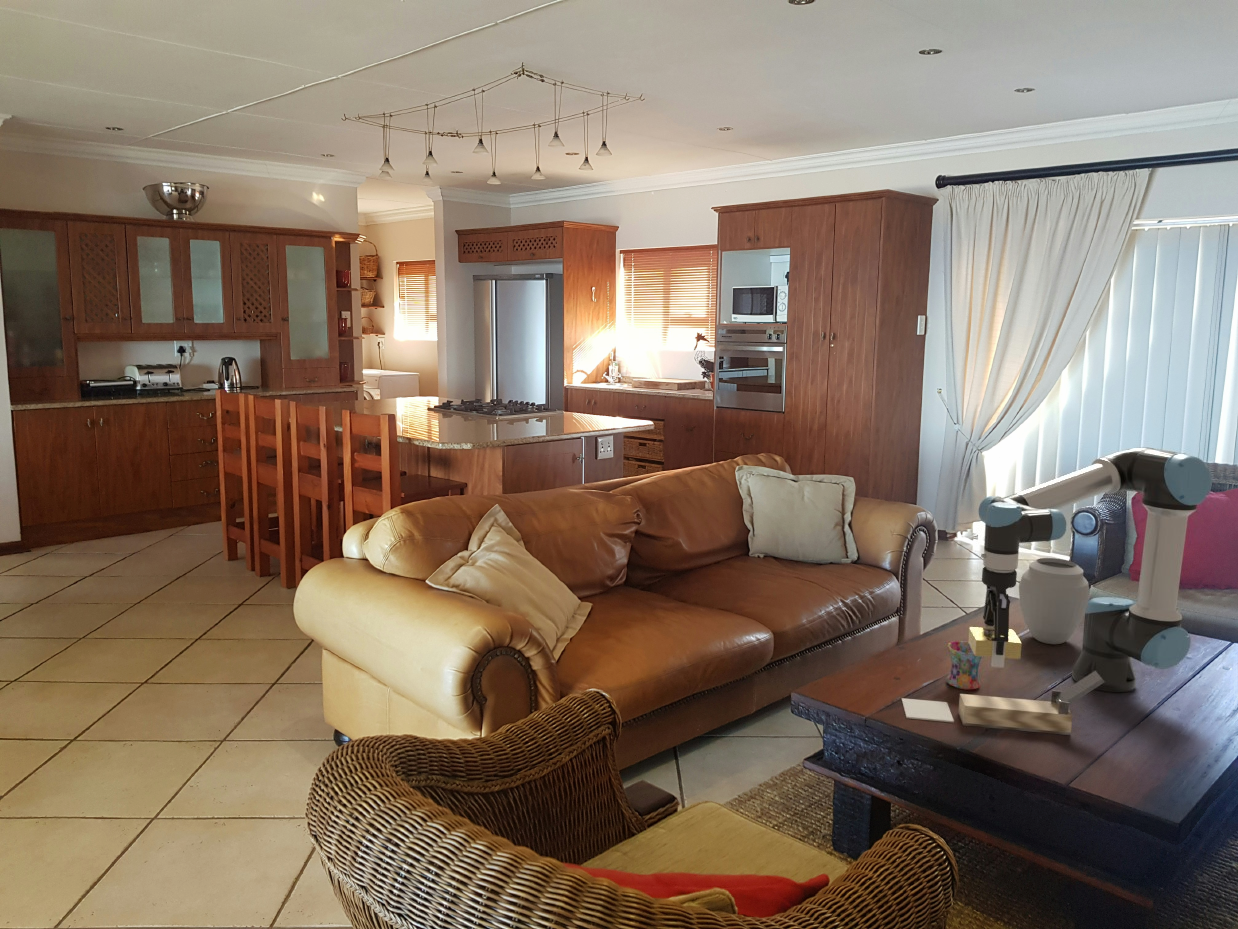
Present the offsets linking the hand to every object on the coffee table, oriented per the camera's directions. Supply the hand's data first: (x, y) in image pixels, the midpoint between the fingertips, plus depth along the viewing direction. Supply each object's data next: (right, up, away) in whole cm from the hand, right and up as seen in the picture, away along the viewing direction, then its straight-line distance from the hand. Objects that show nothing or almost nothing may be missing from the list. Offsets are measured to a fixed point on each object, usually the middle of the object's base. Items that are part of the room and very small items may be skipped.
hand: (993, 659), depth 219 cm
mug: (+3, -12, +25) cm, 28 cm away
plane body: (+5, -16, +1) cm, 17 cm away
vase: (+41, -7, +59) cm, 72 cm away
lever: (+15, -10, -1) cm, 18 cm away
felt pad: (-13, -15, +8) cm, 21 cm away
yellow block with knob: (0, +2, 0) cm, 2 cm away
